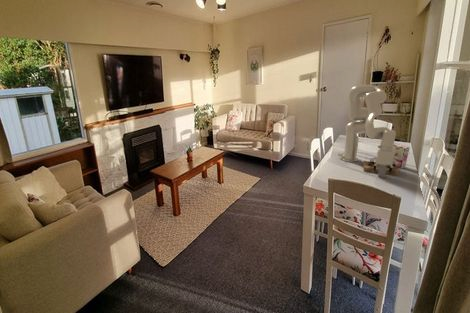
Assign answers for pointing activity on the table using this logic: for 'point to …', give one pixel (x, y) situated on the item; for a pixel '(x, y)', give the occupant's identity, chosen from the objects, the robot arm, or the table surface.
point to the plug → (382, 171)
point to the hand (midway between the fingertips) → (382, 171)
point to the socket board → (369, 168)
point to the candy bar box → (400, 155)
